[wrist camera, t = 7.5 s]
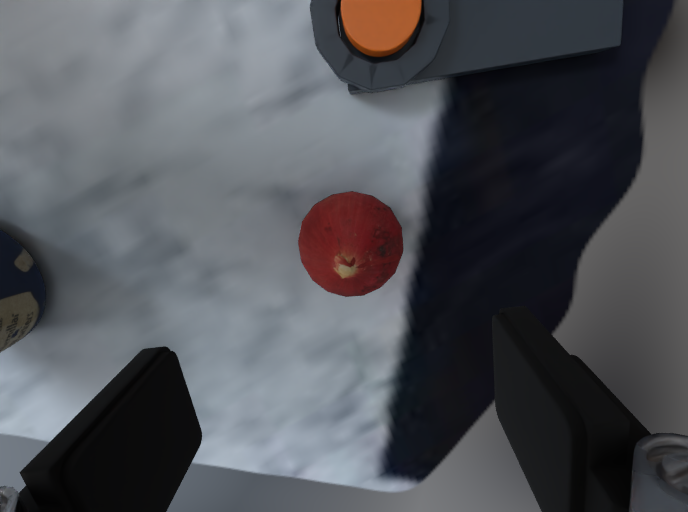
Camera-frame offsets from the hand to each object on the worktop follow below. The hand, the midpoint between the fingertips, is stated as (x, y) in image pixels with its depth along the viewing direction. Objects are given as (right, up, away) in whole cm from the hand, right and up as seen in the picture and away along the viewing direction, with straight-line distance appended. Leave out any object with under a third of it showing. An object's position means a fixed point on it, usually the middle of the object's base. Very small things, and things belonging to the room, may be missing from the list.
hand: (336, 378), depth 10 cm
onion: (+1, +5, +15) cm, 16 cm away
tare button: (+2, +15, +9) cm, 17 cm away
